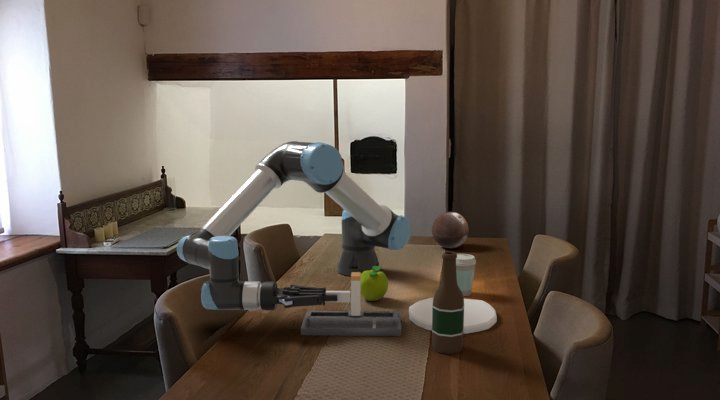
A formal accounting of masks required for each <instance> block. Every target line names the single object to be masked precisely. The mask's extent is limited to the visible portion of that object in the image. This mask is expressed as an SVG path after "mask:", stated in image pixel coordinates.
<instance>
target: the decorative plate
mask: <svg viewBox="0 0 720 400" xmlns="http://www.w3.org/2000/svg"><path fill="white" fill-rule="evenodd" d="M433 298H434V296H433V297H428V298H426V299H420V300H418V301H417V302H415V303H413V304H412V305H410V306H409V307H408V317H409V320H410V321H411V323H413V324H414V325H416V326H418V327H420V328H422V329H425V330H427V331H432V308H433ZM497 319H498V317H497V311H496V309H495V308H494V307H493V306H492V305H491V304H489V303H488V302H486V301H484V300H481V299H473V298H464V330H463V335H465V334H471V333H477V332H482V331H486V330H489V329H490V328H492V327H494V325H495V324H496V323H498V321H497Z"/></svg>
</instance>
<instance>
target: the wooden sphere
mask: <svg viewBox="0 0 720 400" xmlns="http://www.w3.org/2000/svg"><path fill="white" fill-rule="evenodd" d="M469 228H470V227H469V223H468V222H467V220H466V218H465V217H464V216H463V215H461V214H460V213H458V212H454V211H446V212H443V213H441V214H439V215H438V216H436V218H435V219H434V221H433V223H432V227H431V234H432V237H433V239H434V241H435V243H437V244H438V245H439V246H441V247H443V248H446V249H457V248H458V247H460V246H462V245H463V244H464V243H465V242H466V241H467V239H468V237H469V233H470V229H469Z"/></svg>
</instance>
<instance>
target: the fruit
mask: <svg viewBox="0 0 720 400" xmlns="http://www.w3.org/2000/svg"><path fill="white" fill-rule="evenodd" d="M381 268H382V266H381V265H380V266H373V268H372V269H373V270H369V271H364V272H363V273H361V296H362V297H363V299H365V300H366V301H369V302H375V301H379V300H381V299H382V298H384V296H385V295H386V293H387V291H388V288H389V281H388V277H387V275H386V274H385V272H384V271H381ZM379 269H380V271H378V270H379Z"/></svg>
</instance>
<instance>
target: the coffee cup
mask: <svg viewBox="0 0 720 400" xmlns="http://www.w3.org/2000/svg"><path fill="white" fill-rule="evenodd" d="M456 254H457V258H456V274H457V284H458V287H459V288H460V290H461V291H462V294H463V297H469V296H471V295H472V290H473V283H474V276H475V269H476V264H477V260H476V258H475V256H474V255H472V254H469V253H468V254H467V253H456Z"/></svg>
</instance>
